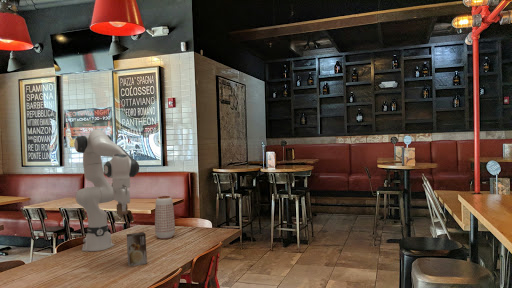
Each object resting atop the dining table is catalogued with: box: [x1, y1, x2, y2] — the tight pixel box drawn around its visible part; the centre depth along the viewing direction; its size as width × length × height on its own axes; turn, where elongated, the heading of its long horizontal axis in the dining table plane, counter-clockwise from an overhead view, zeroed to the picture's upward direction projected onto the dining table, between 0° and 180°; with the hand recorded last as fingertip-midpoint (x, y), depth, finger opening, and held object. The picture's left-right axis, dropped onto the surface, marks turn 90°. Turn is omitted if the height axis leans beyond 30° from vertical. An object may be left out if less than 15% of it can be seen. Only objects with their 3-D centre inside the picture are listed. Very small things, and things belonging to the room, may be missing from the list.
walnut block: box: [116, 203, 129, 216], centre depth 196 cm, size 4×4×5 cm
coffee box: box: [126, 231, 148, 267], centre depth 199 cm, size 9×6×16 cm
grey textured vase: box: [154, 195, 176, 240], centre depth 255 cm, size 13×13×28 cm
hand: (122, 210), depth 196 cm, fingers closed on walnut block, 4 cm apart
